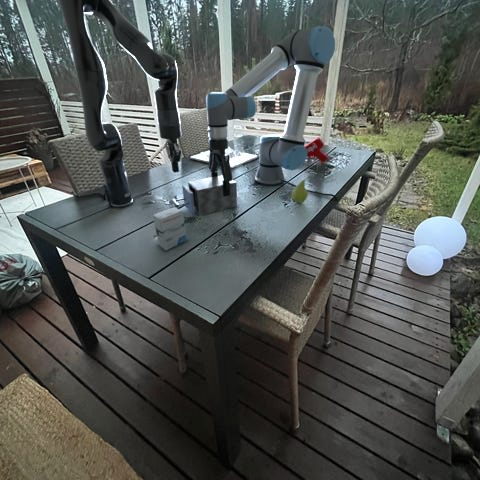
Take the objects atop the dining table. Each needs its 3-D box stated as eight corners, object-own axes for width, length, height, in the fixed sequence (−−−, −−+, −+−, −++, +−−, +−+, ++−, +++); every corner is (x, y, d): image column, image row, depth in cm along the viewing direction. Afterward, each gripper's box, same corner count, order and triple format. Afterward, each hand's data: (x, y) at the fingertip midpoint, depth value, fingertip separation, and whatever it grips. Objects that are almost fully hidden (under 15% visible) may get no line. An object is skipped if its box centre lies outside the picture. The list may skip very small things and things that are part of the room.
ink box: (179, 235, 98) (174, 206, 91) (187, 241, 95) (183, 210, 88) (158, 245, 93) (151, 214, 86) (165, 250, 90) (159, 219, 83)
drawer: (178, 218, 108) (175, 196, 103) (171, 208, 115) (168, 188, 110) (227, 206, 116) (227, 185, 111) (218, 198, 124) (217, 178, 118)
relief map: (232, 168, 162) (231, 159, 159) (190, 158, 179) (189, 150, 177) (257, 157, 180) (257, 149, 177) (217, 149, 198) (217, 142, 195)
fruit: (288, 200, 123) (290, 174, 116) (302, 197, 125) (305, 172, 119) (296, 206, 118) (299, 179, 111) (310, 203, 120) (314, 177, 114)
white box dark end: (199, 215, 111) (197, 190, 105) (190, 205, 119) (187, 181, 113) (236, 206, 118) (236, 182, 112) (225, 197, 126) (225, 174, 120)
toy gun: (331, 157, 168) (319, 136, 164) (331, 159, 164) (318, 137, 160) (306, 172, 178) (294, 153, 174) (305, 174, 174) (292, 154, 170)
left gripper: (153, 121, 97) (161, 168, 106) (163, 127, 87) (171, 178, 97) (173, 119, 100) (179, 165, 109) (185, 124, 90) (191, 175, 100)
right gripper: (198, 133, 112) (202, 183, 124) (222, 145, 95) (224, 202, 107) (214, 131, 115) (217, 181, 127) (241, 142, 98) (241, 199, 110)
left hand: (175, 171), depth 103 cm, fingers closed
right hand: (220, 191), depth 117 cm, fingers closed on white box dark end, 11 cm apart
